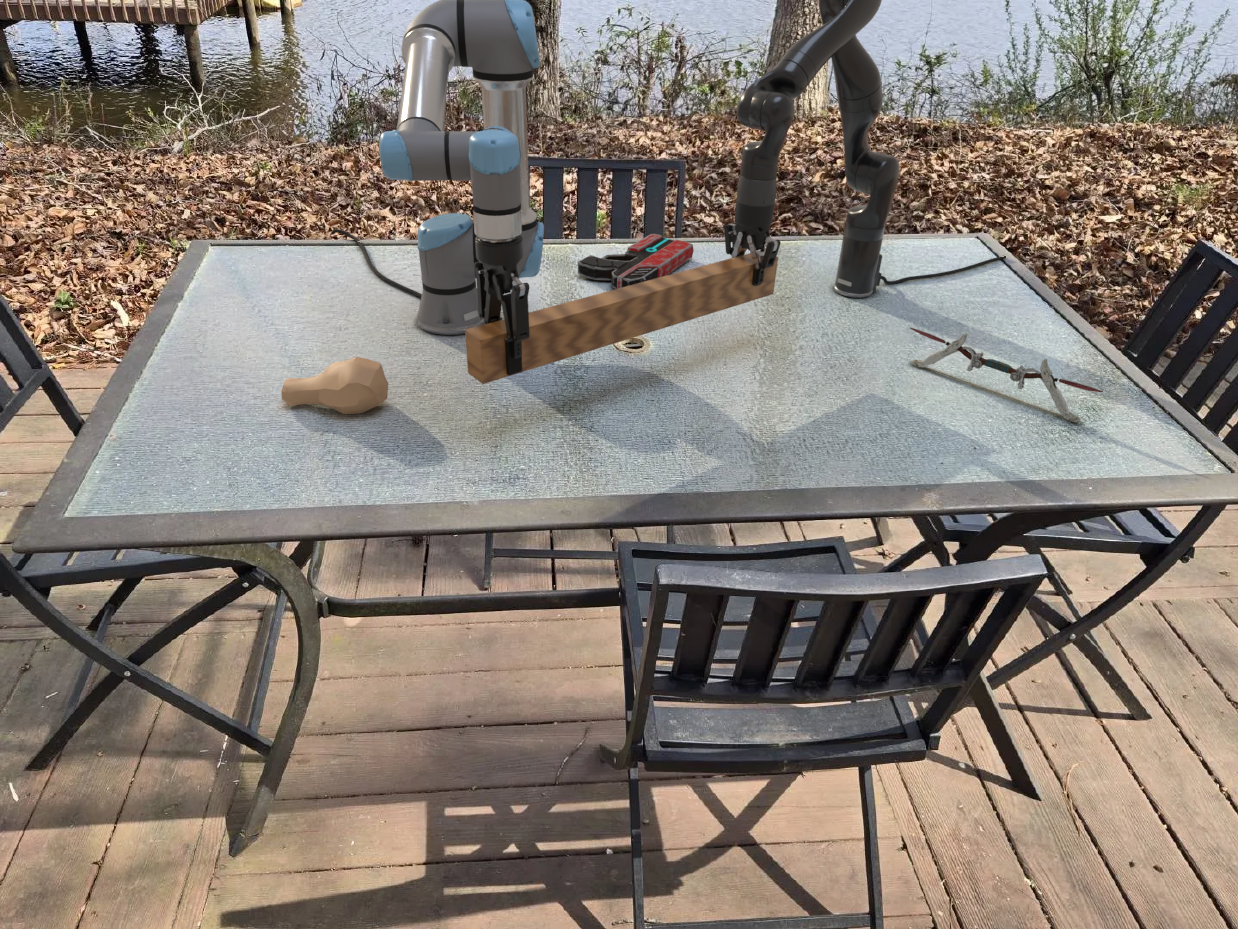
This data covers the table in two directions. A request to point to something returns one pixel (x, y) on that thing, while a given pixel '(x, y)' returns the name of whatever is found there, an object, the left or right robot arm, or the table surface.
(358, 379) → the squash
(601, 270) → the gun
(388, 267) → the table surface
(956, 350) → the bow
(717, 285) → the post
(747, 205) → the right robot arm
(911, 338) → the table surface
